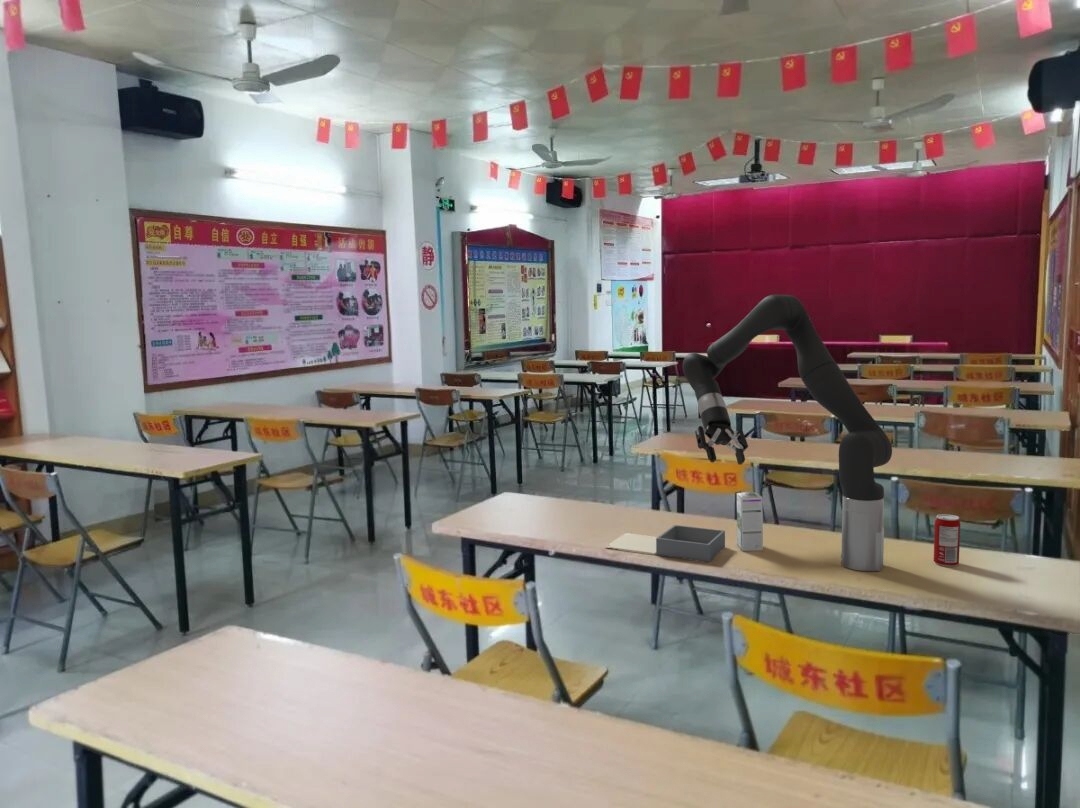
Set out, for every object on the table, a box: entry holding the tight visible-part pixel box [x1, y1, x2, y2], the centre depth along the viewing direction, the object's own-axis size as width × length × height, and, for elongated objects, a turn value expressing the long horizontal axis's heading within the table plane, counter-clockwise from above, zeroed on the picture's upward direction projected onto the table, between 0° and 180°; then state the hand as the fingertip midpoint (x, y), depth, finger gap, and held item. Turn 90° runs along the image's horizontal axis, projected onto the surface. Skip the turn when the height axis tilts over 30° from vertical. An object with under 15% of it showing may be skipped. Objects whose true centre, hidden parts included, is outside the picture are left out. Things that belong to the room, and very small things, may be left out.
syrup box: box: [736, 491, 764, 552], centre depth 207 cm, size 6×6×14 cm
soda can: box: [933, 513, 961, 567], centre depth 191 cm, size 6×6×12 cm
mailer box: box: [605, 524, 726, 563], centre depth 210 cm, size 28×14×4 cm, turn 61°
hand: (727, 462), depth 211 cm, fingers open, 8 cm apart
